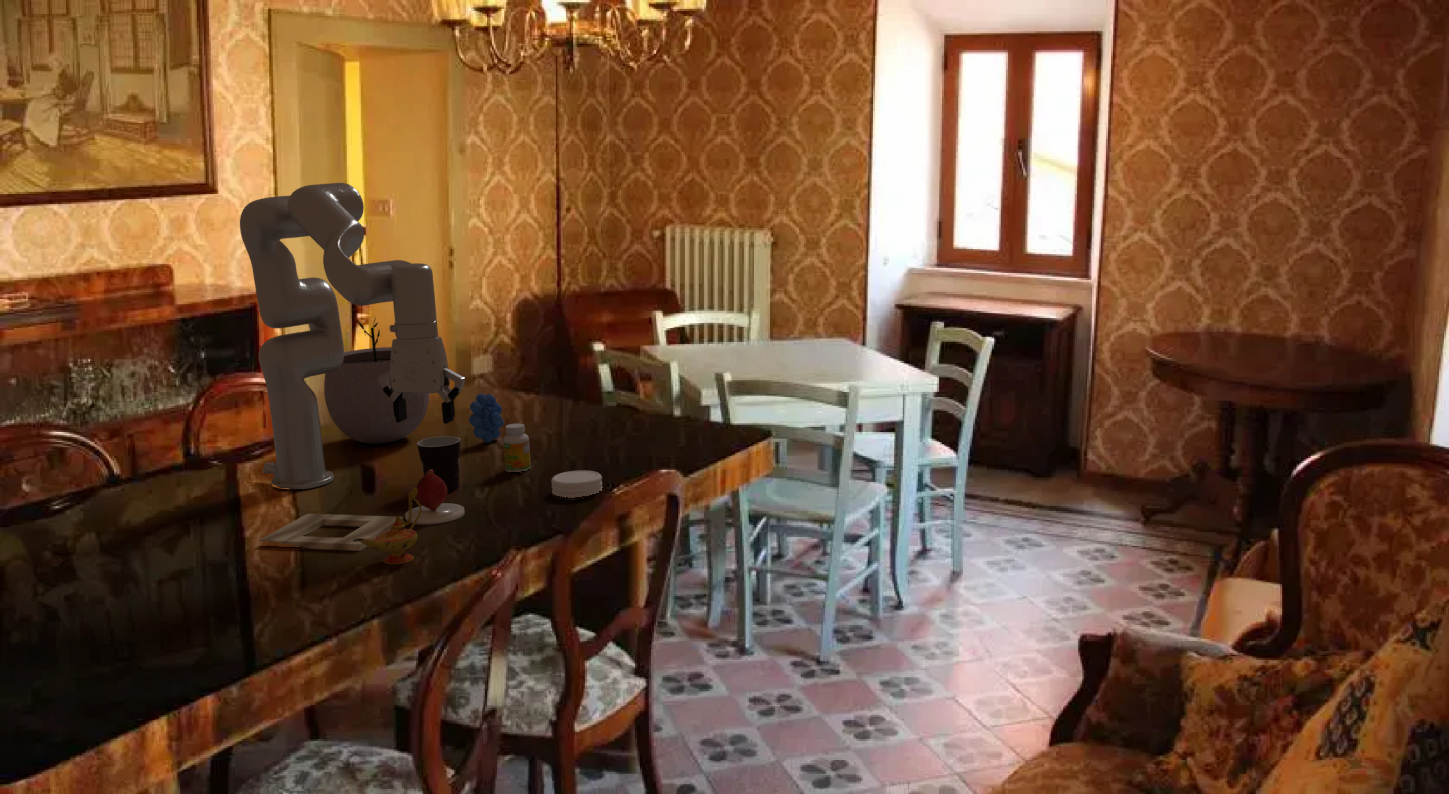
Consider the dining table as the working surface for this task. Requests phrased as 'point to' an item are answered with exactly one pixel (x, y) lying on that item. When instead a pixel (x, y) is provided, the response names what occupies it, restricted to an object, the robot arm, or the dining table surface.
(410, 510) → the magic lamp
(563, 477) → the white round container
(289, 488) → the robot arm
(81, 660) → the dining table surface
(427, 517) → the saucer
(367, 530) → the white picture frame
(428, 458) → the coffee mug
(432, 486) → the onion
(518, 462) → the supplement bottle
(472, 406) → the grapes
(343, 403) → the plant pot
